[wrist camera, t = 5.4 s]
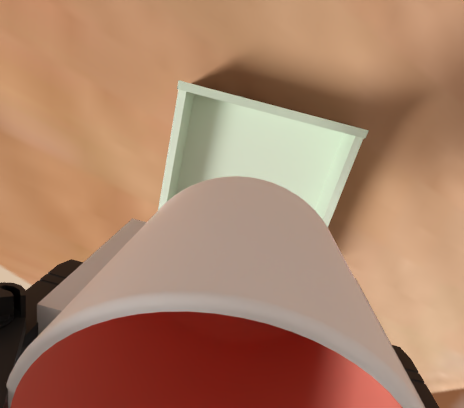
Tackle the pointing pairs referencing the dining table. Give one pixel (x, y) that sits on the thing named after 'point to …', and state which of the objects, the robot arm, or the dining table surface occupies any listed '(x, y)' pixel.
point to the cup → (218, 316)
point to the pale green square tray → (258, 147)
